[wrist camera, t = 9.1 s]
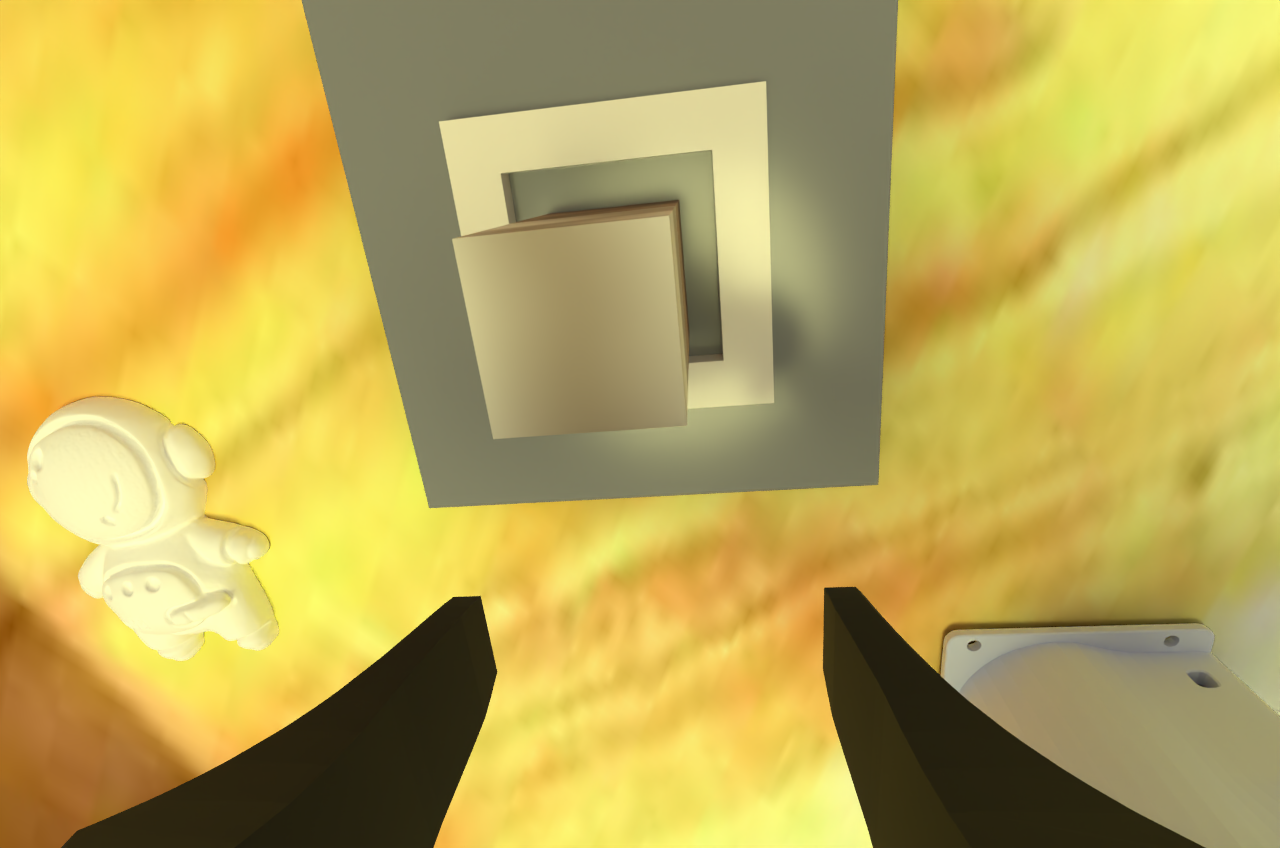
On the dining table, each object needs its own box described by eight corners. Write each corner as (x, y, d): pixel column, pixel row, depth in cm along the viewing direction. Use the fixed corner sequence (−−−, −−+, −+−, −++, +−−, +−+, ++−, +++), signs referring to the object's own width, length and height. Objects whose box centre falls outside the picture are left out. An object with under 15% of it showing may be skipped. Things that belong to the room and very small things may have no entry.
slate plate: (887, -73, 17) (912, -104, 15) (869, 469, 22) (884, 495, 21) (325, 10, 18) (283, -9, 17) (441, 492, 24) (420, 519, 22)
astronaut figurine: (145, 647, 29) (86, 698, 26) (13, 406, 25) (-74, 435, 22) (318, 633, 28) (275, 684, 25) (209, 377, 24) (144, 404, 21)
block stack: (679, 199, 18) (669, 215, 11) (689, 332, 20) (686, 425, 12) (546, 214, 19) (452, 238, 11) (566, 343, 20) (493, 439, 13)
